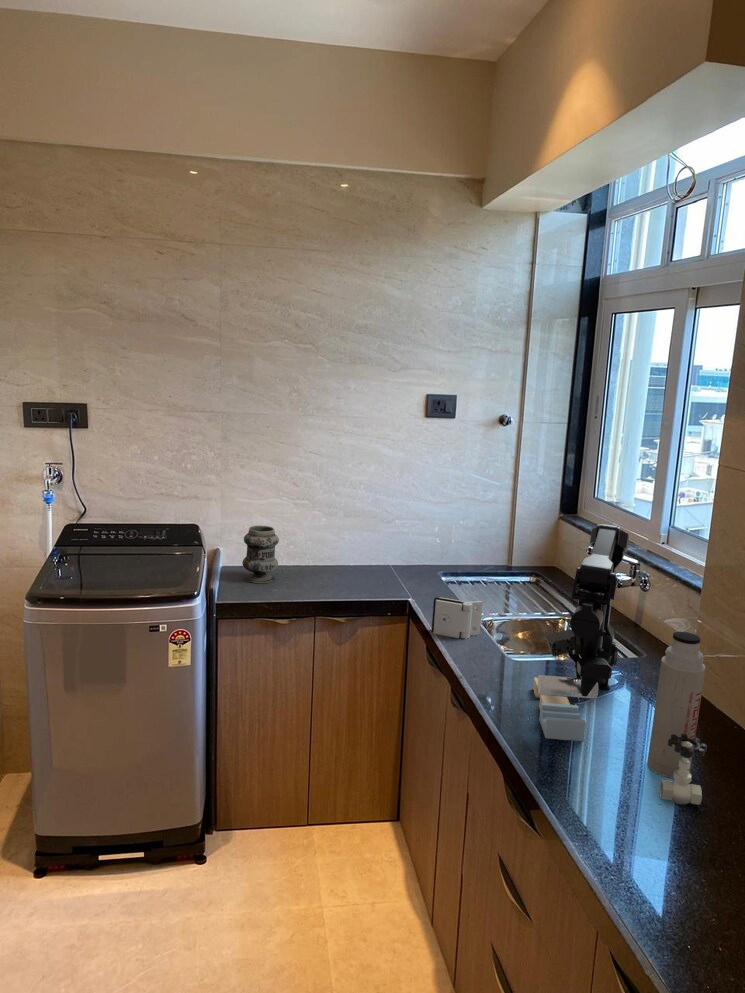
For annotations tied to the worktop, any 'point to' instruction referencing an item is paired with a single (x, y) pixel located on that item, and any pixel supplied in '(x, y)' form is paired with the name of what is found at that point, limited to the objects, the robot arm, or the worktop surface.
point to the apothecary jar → (260, 553)
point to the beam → (548, 696)
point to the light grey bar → (563, 686)
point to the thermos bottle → (676, 701)
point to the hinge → (456, 617)
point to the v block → (562, 722)
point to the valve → (683, 773)
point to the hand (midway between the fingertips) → (582, 691)
